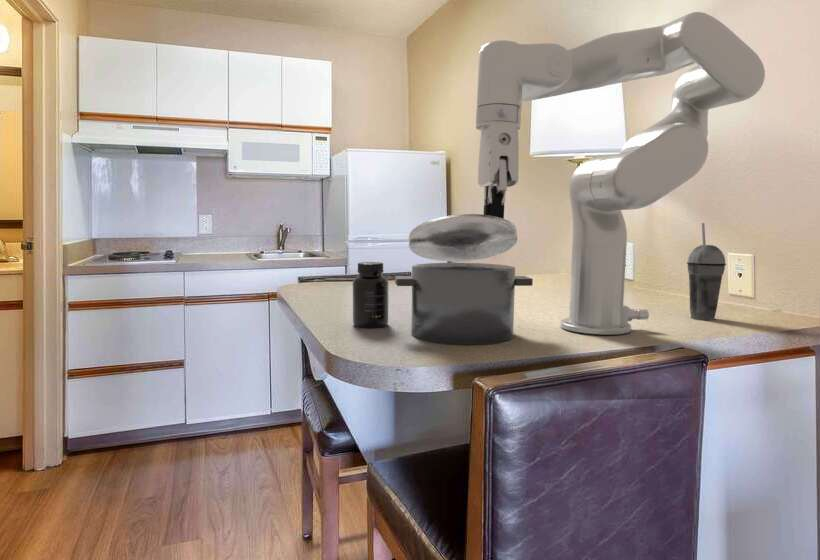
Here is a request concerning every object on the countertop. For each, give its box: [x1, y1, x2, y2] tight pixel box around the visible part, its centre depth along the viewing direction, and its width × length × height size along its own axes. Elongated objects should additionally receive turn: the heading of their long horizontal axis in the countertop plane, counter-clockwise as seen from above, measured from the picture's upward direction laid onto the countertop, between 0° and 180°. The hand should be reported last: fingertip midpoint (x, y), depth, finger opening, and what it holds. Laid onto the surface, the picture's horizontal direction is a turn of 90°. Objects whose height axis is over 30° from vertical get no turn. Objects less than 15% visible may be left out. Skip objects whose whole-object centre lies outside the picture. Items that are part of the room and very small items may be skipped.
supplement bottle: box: [352, 261, 389, 329], centre depth 106 cm, size 7×7×12 cm
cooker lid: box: [408, 213, 518, 262], centre depth 98 cm, size 19×19×3 cm
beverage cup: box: [686, 222, 727, 321], centre depth 116 cm, size 7×7×20 cm
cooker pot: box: [394, 262, 534, 346], centre depth 98 cm, size 24×18×12 cm
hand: (493, 227), depth 96 cm, fingers closed
